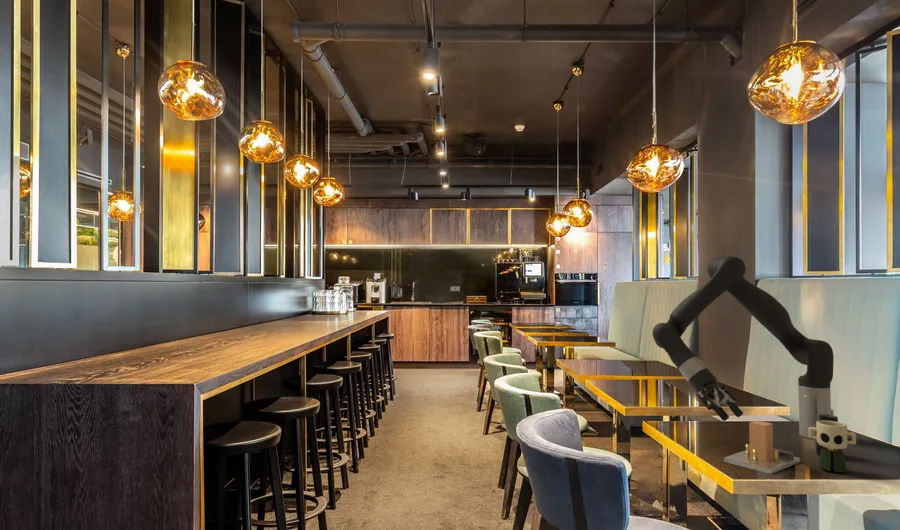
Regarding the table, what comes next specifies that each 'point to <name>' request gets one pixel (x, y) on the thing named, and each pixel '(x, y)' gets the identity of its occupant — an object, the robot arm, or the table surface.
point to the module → (761, 439)
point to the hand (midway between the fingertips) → (733, 417)
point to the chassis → (771, 466)
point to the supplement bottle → (821, 418)
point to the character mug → (832, 444)
